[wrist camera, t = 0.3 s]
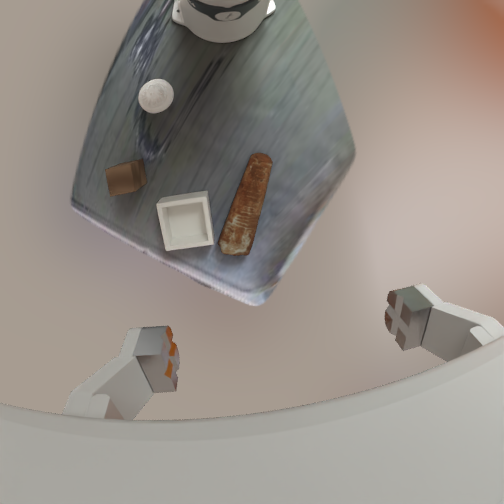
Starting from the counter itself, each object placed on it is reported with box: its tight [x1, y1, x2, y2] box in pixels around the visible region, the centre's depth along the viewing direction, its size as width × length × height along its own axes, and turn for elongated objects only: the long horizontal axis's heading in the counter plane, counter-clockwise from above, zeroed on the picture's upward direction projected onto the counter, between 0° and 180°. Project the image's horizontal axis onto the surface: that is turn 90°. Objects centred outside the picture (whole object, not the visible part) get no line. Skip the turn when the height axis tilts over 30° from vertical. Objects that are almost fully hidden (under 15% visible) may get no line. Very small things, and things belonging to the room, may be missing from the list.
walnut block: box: [105, 159, 147, 197], centre depth 48 cm, size 5×5×8 cm
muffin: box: [138, 79, 174, 113], centre depth 43 cm, size 6×6×7 cm
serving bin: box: [156, 190, 214, 251], centre depth 53 cm, size 9×9×5 cm
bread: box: [218, 153, 272, 256], centre depth 53 cm, size 6×19×6 cm, turn 160°
